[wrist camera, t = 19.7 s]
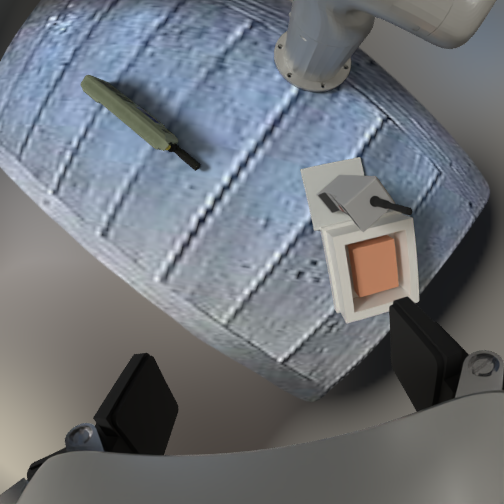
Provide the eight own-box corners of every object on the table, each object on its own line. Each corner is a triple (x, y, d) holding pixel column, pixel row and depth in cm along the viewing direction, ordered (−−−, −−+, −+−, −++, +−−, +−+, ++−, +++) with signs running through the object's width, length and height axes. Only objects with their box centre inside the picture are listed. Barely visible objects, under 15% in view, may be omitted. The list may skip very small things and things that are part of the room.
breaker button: (347, 244, 46) (352, 249, 43) (386, 235, 45) (394, 239, 42) (354, 290, 48) (359, 297, 45) (391, 280, 47) (398, 286, 44)
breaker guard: (319, 225, 48) (328, 234, 41) (396, 208, 46) (415, 213, 40) (334, 308, 51) (343, 326, 44) (404, 288, 50) (421, 303, 43)
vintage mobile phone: (315, 194, 46) (370, 218, 22) (338, 174, 45) (413, 178, 21) (330, 212, 46) (395, 253, 22) (353, 192, 45) (436, 214, 21)
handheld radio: (108, 79, 42) (207, 159, 46) (97, 94, 43) (194, 175, 47) (88, 71, 36) (197, 159, 39) (77, 87, 37) (182, 177, 40)
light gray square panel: (300, 169, 45) (300, 169, 45) (358, 157, 44) (360, 157, 44) (314, 230, 48) (314, 230, 47) (370, 216, 47) (372, 217, 46)
